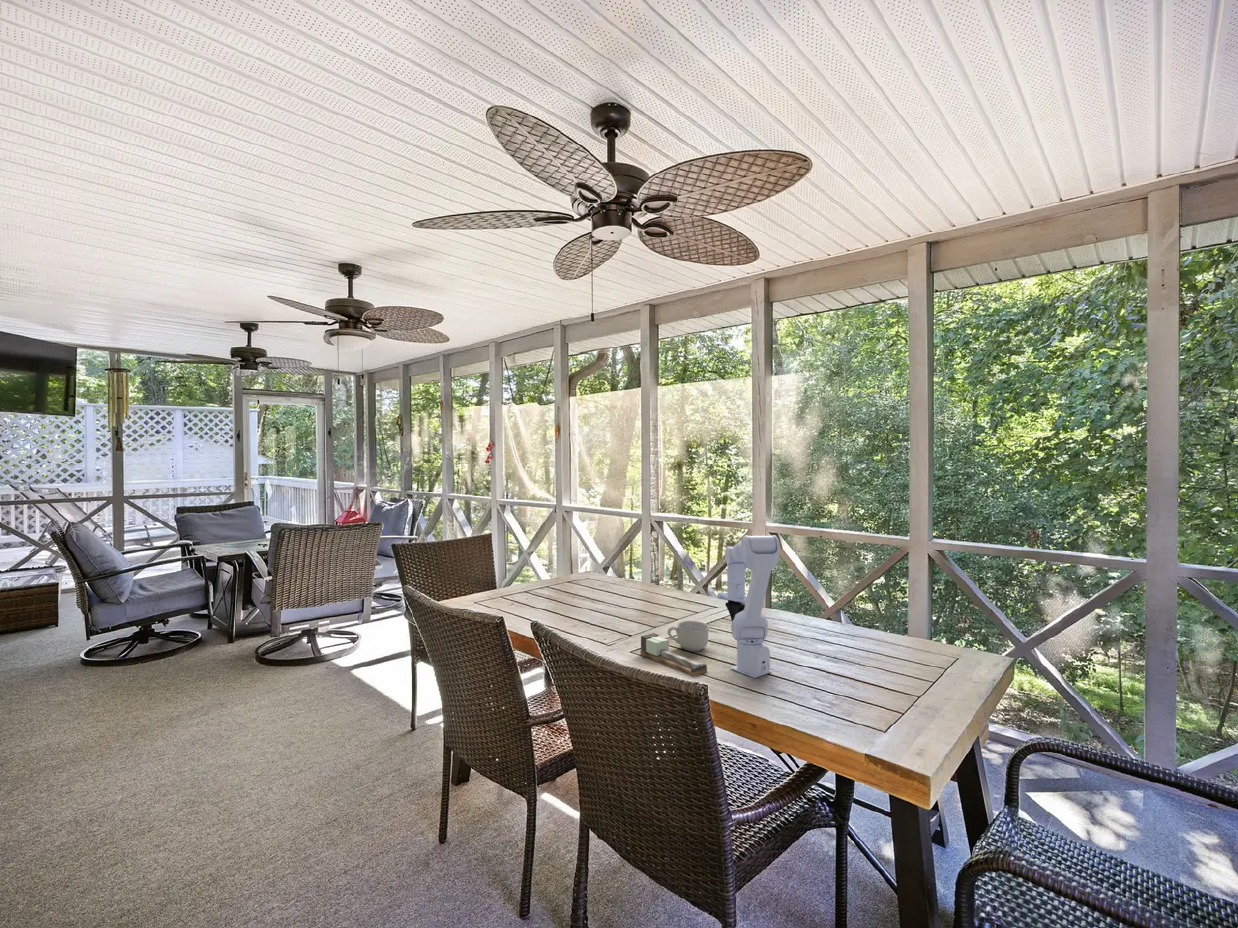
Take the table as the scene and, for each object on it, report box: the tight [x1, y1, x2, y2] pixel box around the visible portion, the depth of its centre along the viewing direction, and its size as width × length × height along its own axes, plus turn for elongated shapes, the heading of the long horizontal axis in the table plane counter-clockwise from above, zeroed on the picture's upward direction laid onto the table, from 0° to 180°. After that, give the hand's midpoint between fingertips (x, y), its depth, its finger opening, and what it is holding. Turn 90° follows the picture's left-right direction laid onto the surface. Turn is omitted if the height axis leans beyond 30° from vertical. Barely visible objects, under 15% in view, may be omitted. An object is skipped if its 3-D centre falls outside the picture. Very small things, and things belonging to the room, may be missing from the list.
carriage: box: [646, 635, 670, 656], centre depth 188 cm, size 5×5×4 cm
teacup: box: [667, 620, 710, 652], centre depth 196 cm, size 14×11×8 cm
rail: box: [639, 632, 708, 677], centre depth 182 cm, size 24×6×6 cm, turn 38°
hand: (735, 624), depth 190 cm, fingers closed
